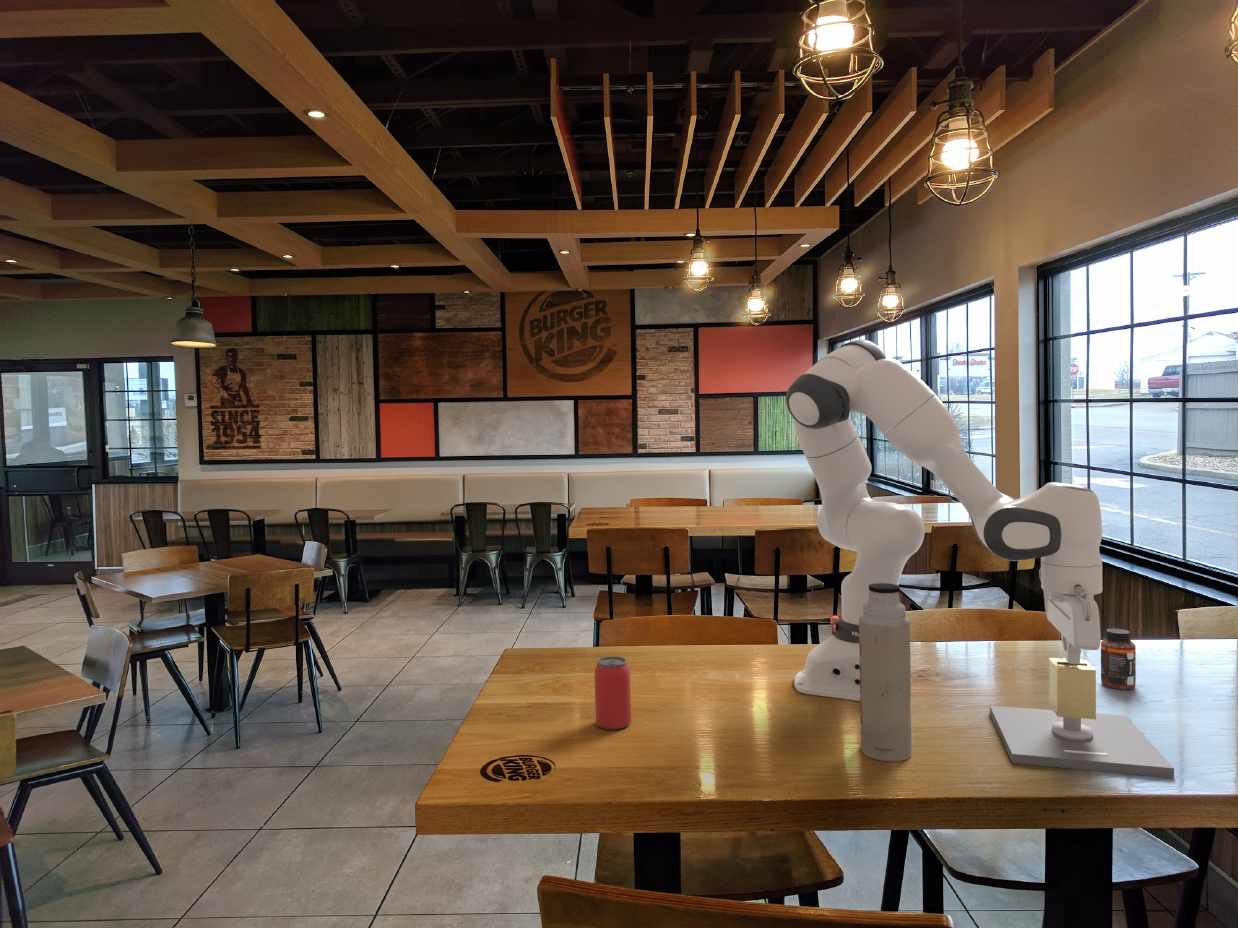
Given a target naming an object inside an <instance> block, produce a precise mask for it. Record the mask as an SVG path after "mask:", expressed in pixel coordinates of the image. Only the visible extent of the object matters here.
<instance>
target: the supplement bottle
mask: <svg viewBox="0 0 1238 928" xmlns="http://www.w3.org/2000/svg"><path fill="white" fill-rule="evenodd" d="M1105 636H1106V638H1104V639H1103V640H1101V643H1100V681H1101V683H1102V685H1103V686H1106V687H1108V688H1111V689H1115V690H1132V689H1133V690H1134V688H1135V687H1136V682H1137V681H1136V680H1137V679H1136V676H1137V674H1136V673H1137V672H1136V671H1137V670H1136V667H1137V666H1136V661H1137V660H1136V657H1137V656H1136V655H1137V654H1136V653H1137V652H1136V644H1135V642H1132V641H1131V633H1130V631H1129V630H1126V629H1122V628H1107V629H1106V633H1105Z"/></svg>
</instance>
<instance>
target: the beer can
mask: <svg viewBox="0 0 1238 928" xmlns="http://www.w3.org/2000/svg"><path fill="white" fill-rule="evenodd" d="M594 701H595V703H594V704H595V705H594V707H595V723H596V725H597V726H598V727H600V728H602V729H603V730H611V731H615V730H617V731H618V730H620V729H621V730H622V729H625V728H627V727H628V726H629V725H630V724H631V722H632V707H631V706H632V704H631V701H632V699H631V673H630V668H629V665H628V661H627V659H626V658H624V657H621V656H605V657H601V658H599V659H598V660H597V661H596V666H595V669H594Z"/></svg>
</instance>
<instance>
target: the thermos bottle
mask: <svg viewBox="0 0 1238 928" xmlns="http://www.w3.org/2000/svg"><path fill="white" fill-rule="evenodd" d="M900 592H901V587H900V585H899V586H898V585H895V584H889V583H875V584H870V585H869V594H868V596H869V601H868V602H866V603H864V605H863V609H862V611H863V615H862V616H860V617H859V653H860V701H859V702H860V703H859V706H860V708H859V709H860V713H859V715H860V716H859V717H860V750H861V752H862V753H863V754H864V755H865V756H866V757H869V758H871V759H874V760H877V761H883V762H891V763H892V762H893V763H894V762H901V761H902V762H903V761H906V760H908V759H910V758H911V756H912V748H913V747H912V712H911V711H912V709H911V696H912V688H911V687H912V683H911V682H912V680H911V679H912V678H911V675H912V673H911V667H912V666H911V621H910V619H909V618H908V617H906V615H907V609H906V606H905V605H904V604H903V603H901V601H900V600H901V599H900V594H899V593H900Z"/></svg>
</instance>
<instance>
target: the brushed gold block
mask: <svg viewBox="0 0 1238 928" xmlns="http://www.w3.org/2000/svg"><path fill="white" fill-rule="evenodd" d="M1048 658H1049V660H1048V661H1049V662H1048V663H1049V664H1048V666H1049V670H1048V671H1049V672H1048V676H1049V677H1048V679H1049V680H1048V681H1049V685H1048V686H1049V687H1048V688H1049V691H1048V692H1049V694H1048V695H1049V701H1048V702H1049V703H1048V704H1049V706H1050V708H1051V710H1053V711H1054V712H1055V714H1056V715H1057V717H1069V718H1083V719H1096V713H1097V675H1096V674H1097V670H1096V669H1095V668H1094V666H1092V664H1091V663H1089V661H1088V660H1087V659H1080V663H1079V664H1070V663H1068V661H1067V660H1066V659H1065V658H1057V657H1048Z"/></svg>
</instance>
